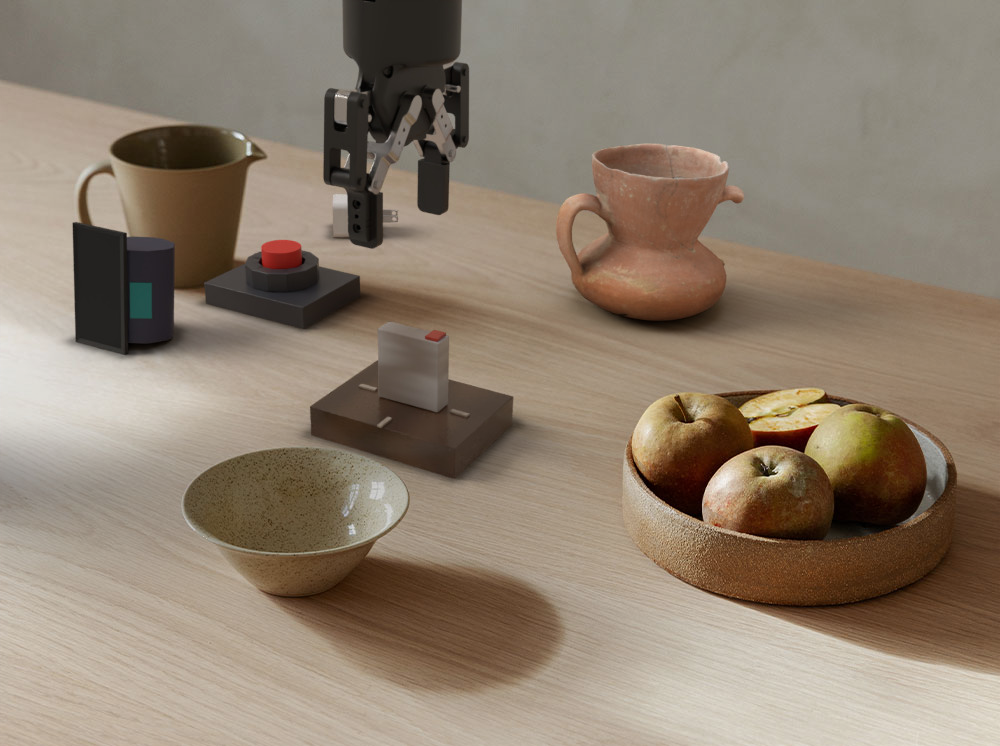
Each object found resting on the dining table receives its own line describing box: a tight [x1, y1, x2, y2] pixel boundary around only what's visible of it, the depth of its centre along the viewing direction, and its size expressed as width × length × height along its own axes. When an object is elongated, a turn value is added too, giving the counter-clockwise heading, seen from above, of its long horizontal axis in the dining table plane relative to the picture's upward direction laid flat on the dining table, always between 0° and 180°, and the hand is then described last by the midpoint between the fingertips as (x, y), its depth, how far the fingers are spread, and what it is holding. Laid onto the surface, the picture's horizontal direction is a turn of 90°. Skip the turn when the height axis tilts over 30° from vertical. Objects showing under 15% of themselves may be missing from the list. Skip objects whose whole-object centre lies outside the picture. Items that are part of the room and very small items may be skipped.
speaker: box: [72, 221, 176, 356], centre depth 92 cm, size 8×6×10 cm
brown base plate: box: [309, 359, 514, 480], centre depth 81 cm, size 12×9×3 cm
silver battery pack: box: [377, 321, 450, 412], centre depth 79 cm, size 5×2×6 cm, turn 64°
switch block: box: [203, 249, 361, 330], centre depth 102 cm, size 11×9×4 cm
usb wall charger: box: [332, 193, 399, 239], centre depth 120 cm, size 4×7×4 cm, turn 96°
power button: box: [260, 239, 303, 269], centre depth 101 cm, size 4×4×2 cm
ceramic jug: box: [555, 143, 745, 322], centre depth 102 cm, size 18×14×14 cm
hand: (400, 228), depth 76 cm, fingers open, 8 cm apart
